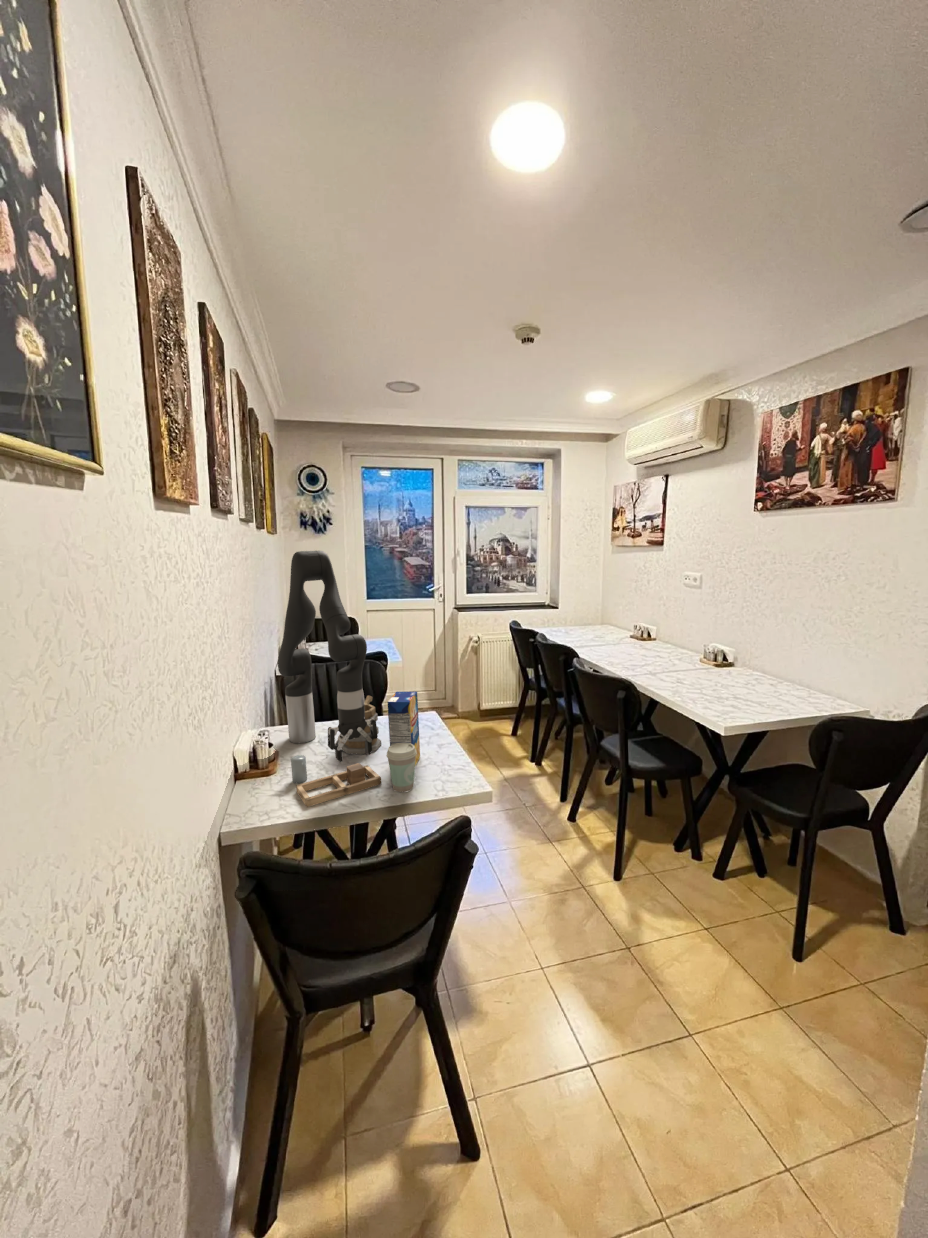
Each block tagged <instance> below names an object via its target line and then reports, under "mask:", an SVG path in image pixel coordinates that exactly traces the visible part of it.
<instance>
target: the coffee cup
mask: <svg viewBox="0 0 928 1238" xmlns="http://www.w3.org/2000/svg"><path fill="white" fill-rule="evenodd" d="M386 751H387V752H386V758H387V760H388V761H387V762H388V766H389V767H388V768H389V772H390V778H391V784H392V788H393V790H394V791H395V792H397V793H407V792H410V791H412V790H413V789H414V785H415V770H416V766H415V758H416V754H417V752H416V749H415V747H414V745H413V744H410V743H397V744H393V745H391V746H390V745H389V746H388V748H387V750H386Z"/></svg>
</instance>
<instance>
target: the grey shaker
mask: <svg viewBox="0 0 928 1238" xmlns="http://www.w3.org/2000/svg"><path fill="white" fill-rule="evenodd" d="M306 758H307V757H306V755H304V754H300V755H294V756H292V757H291V758H290V763H291V764H290V765H291V778H292V779H291V780H292V783H293V784H296V785H299V784H302V783H306V782H308V781H307V780H308V772H307V771H308V769H307V759H306Z"/></svg>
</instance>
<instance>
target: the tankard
mask: <svg viewBox="0 0 928 1238" xmlns="http://www.w3.org/2000/svg"><path fill="white" fill-rule="evenodd" d="M371 702H373V696H371V695H366V698H365V702H364V705H365V720H369V718H373V719H375V720H376V722H377V721H378V719H379V718H378V713H377V712H376V706H374V705H372V704H370V703H371ZM364 731H365V732H366V733H367V734H368V736H369V735H370V734H371V733H370V727H369V726H368V724H367V726H366V727H365V729H364ZM379 732H380V731H379V727H378V726H377V735H379ZM365 741H366V739H365V738H364V737H363V736H362V735H361V736H359V738H353V739H350V740H349V739H347V741H346V743H345V744H344V745H343V746H342V748H341V750H342V752H345V754H347V755H361V756H362V755H366V754H367V753H366V752H365ZM380 746H382V740H381V739H380V738H379V737H377V739H373V740H372V752H371V753H373V752H376V751H377V750H378V749H379V748H380Z"/></svg>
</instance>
